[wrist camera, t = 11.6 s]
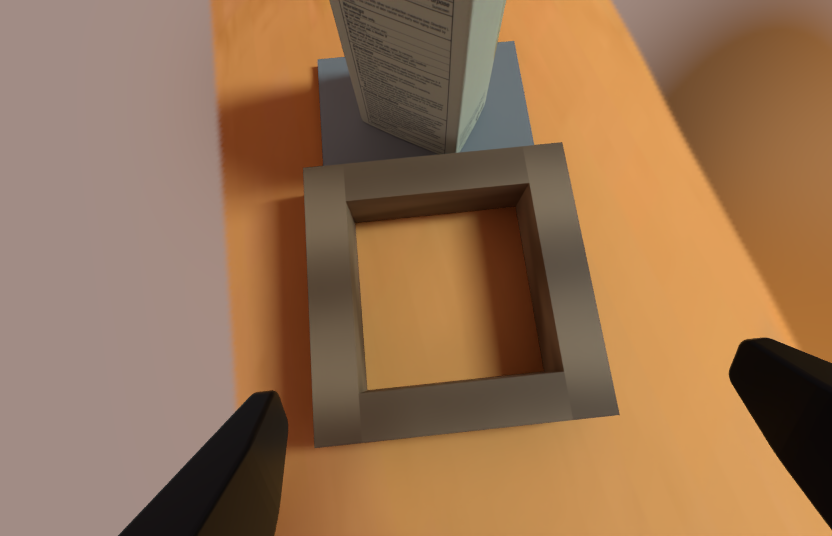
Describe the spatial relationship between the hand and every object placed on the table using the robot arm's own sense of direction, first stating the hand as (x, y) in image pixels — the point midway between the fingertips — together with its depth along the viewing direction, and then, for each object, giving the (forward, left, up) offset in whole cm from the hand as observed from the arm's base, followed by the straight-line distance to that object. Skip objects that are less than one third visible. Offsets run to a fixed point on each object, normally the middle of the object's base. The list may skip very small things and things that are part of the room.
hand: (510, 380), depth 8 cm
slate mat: (+9, +12, -13) cm, 20 cm away
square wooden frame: (+2, +3, -13) cm, 14 cm away
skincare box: (+8, +12, -13) cm, 20 cm away
